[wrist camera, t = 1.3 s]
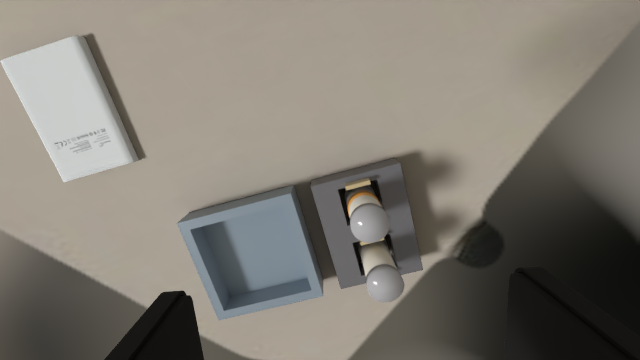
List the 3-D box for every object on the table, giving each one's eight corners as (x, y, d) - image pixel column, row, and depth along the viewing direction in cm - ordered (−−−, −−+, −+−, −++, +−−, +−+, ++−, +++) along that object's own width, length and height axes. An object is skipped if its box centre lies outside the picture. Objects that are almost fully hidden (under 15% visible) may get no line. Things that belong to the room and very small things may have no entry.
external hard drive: (88, 38, 29) (141, 159, 32) (14, 62, 30) (73, 179, 33) (75, 34, 28) (132, 162, 31) (-3, 60, 28) (60, 183, 32)
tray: (293, 184, 32) (290, 193, 30) (323, 279, 35) (323, 296, 33) (189, 212, 33) (176, 223, 31) (227, 302, 36) (218, 320, 34)
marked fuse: (370, 177, 32) (385, 202, 24) (376, 204, 33) (393, 237, 25) (341, 185, 32) (346, 212, 25) (348, 212, 33) (355, 246, 26)
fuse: (382, 227, 34) (400, 266, 26) (388, 253, 34) (407, 297, 27) (354, 234, 34) (363, 275, 26) (361, 259, 35) (371, 305, 27)
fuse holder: (394, 157, 32) (403, 165, 28) (416, 257, 35) (426, 275, 31) (311, 180, 32) (310, 189, 29) (339, 275, 35) (341, 294, 32)
